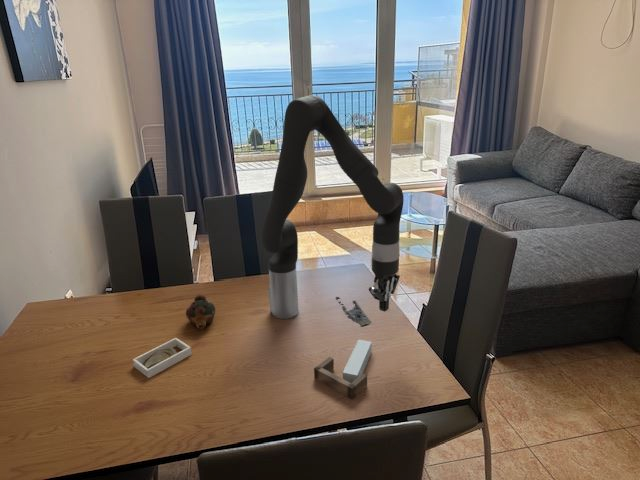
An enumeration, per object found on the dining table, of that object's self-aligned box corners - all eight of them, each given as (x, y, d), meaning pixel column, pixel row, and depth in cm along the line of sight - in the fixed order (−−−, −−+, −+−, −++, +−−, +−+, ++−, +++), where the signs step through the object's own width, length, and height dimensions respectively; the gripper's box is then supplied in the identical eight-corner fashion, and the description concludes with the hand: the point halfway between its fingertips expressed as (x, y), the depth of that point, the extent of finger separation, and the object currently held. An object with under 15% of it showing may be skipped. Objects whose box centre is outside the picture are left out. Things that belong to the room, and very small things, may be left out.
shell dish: (134, 366, 129) (132, 359, 128) (177, 344, 139) (175, 337, 138) (148, 378, 124) (147, 370, 123) (192, 354, 134) (190, 347, 133)
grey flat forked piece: (372, 326, 146) (372, 321, 146) (353, 329, 145) (353, 324, 144) (353, 298, 165) (353, 293, 164) (335, 300, 164) (335, 295, 163)
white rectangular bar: (342, 384, 120) (342, 372, 118) (358, 350, 134) (358, 339, 132) (357, 387, 118) (357, 375, 117) (371, 353, 132) (371, 341, 131)
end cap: (314, 378, 122) (314, 368, 120) (329, 367, 126) (329, 356, 125) (352, 399, 114) (352, 388, 112) (367, 386, 118) (367, 375, 117)
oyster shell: (156, 379, 130) (181, 353, 133) (154, 381, 127) (179, 353, 130) (140, 366, 130) (166, 339, 133) (138, 366, 127) (164, 339, 130)
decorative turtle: (213, 308, 159) (212, 289, 156) (218, 332, 146) (217, 312, 143) (185, 312, 156) (183, 292, 153) (188, 337, 143) (186, 316, 140)
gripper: (383, 266, 116) (382, 323, 123) (409, 251, 126) (407, 304, 132) (360, 259, 121) (360, 315, 127) (387, 245, 130) (385, 297, 137)
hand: (384, 309), depth 130 cm, fingers closed
